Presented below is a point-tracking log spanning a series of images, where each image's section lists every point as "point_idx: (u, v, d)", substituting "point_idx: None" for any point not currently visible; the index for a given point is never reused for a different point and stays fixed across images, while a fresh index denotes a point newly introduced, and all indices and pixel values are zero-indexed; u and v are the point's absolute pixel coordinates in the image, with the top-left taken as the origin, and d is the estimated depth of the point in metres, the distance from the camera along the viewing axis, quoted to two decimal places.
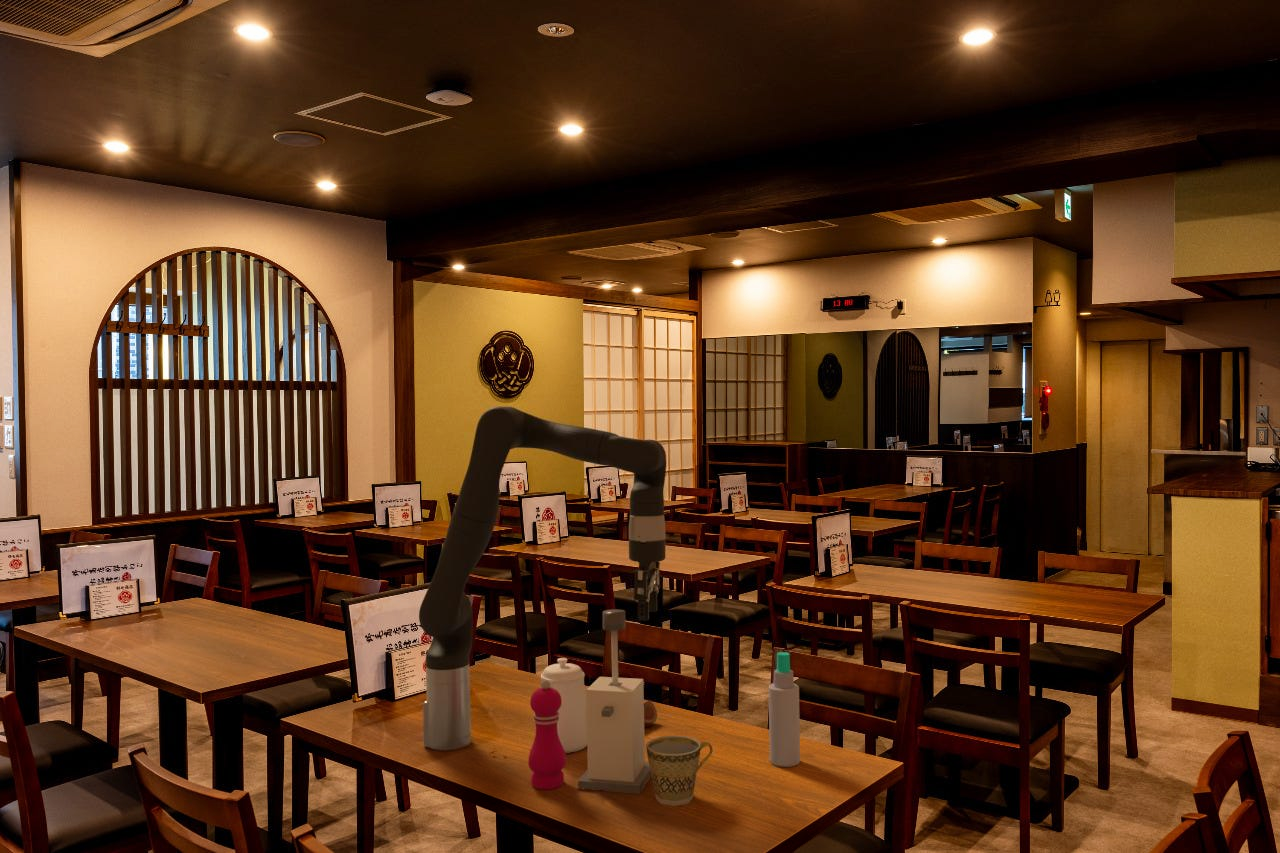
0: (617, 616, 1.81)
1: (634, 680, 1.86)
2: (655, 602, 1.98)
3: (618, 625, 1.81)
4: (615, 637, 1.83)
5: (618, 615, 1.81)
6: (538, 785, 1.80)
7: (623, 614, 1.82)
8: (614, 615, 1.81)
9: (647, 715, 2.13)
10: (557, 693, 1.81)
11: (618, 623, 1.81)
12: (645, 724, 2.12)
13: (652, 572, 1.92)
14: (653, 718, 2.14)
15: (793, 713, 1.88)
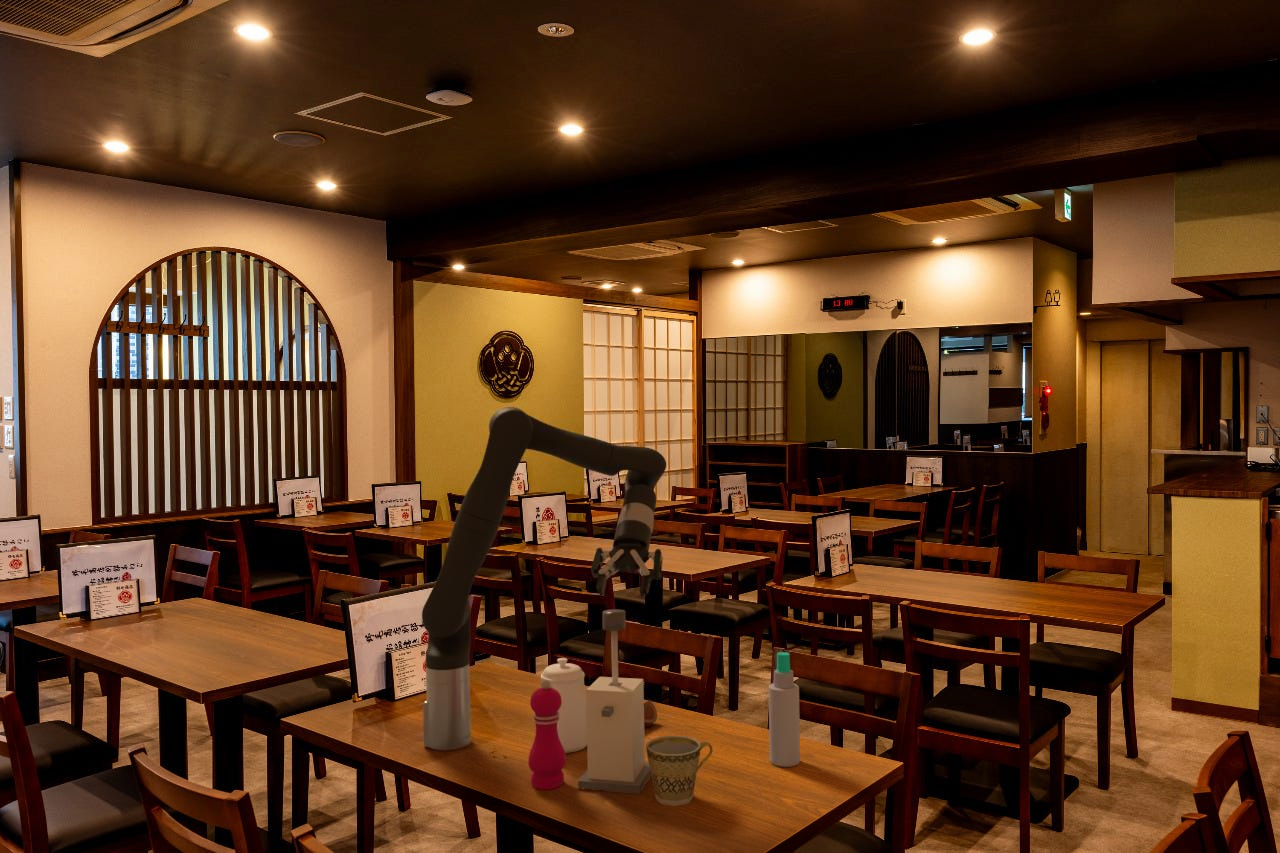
0: (617, 616, 1.81)
1: (634, 680, 1.86)
2: (605, 587, 1.92)
3: (618, 625, 1.81)
4: (615, 637, 1.83)
5: (618, 615, 1.81)
6: (538, 785, 1.80)
7: (623, 614, 1.82)
8: (614, 615, 1.81)
9: (647, 715, 2.13)
10: (557, 693, 1.81)
11: (618, 623, 1.81)
12: (645, 724, 2.12)
13: None
14: (653, 718, 2.14)
15: (793, 713, 1.88)
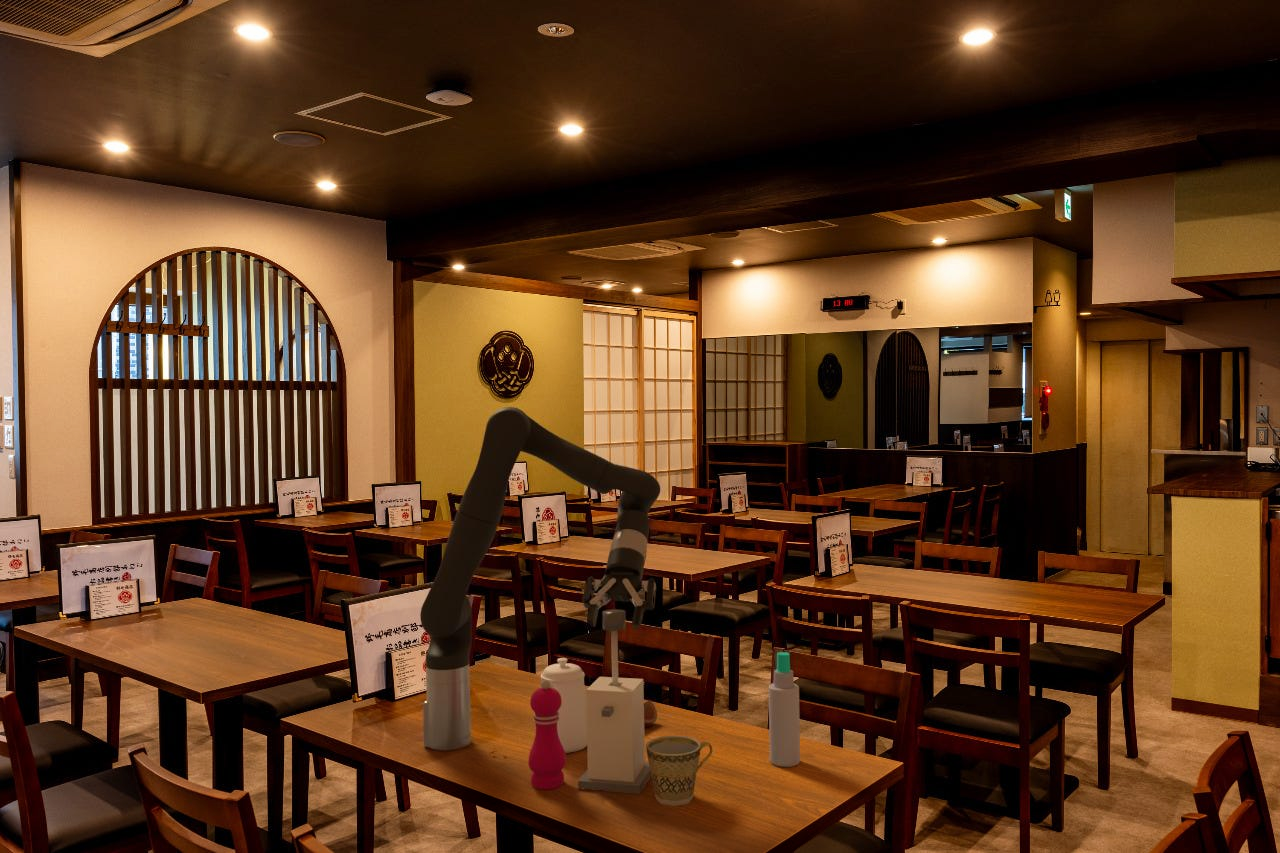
0: (617, 616, 1.81)
1: (634, 680, 1.86)
2: (596, 618, 1.85)
3: (618, 625, 1.81)
4: (615, 637, 1.83)
5: (618, 615, 1.81)
6: (538, 785, 1.80)
7: (623, 614, 1.82)
8: (614, 615, 1.81)
9: (647, 715, 2.13)
10: (557, 693, 1.81)
11: (618, 623, 1.81)
12: (645, 724, 2.12)
13: None
14: (653, 718, 2.14)
15: (793, 713, 1.88)
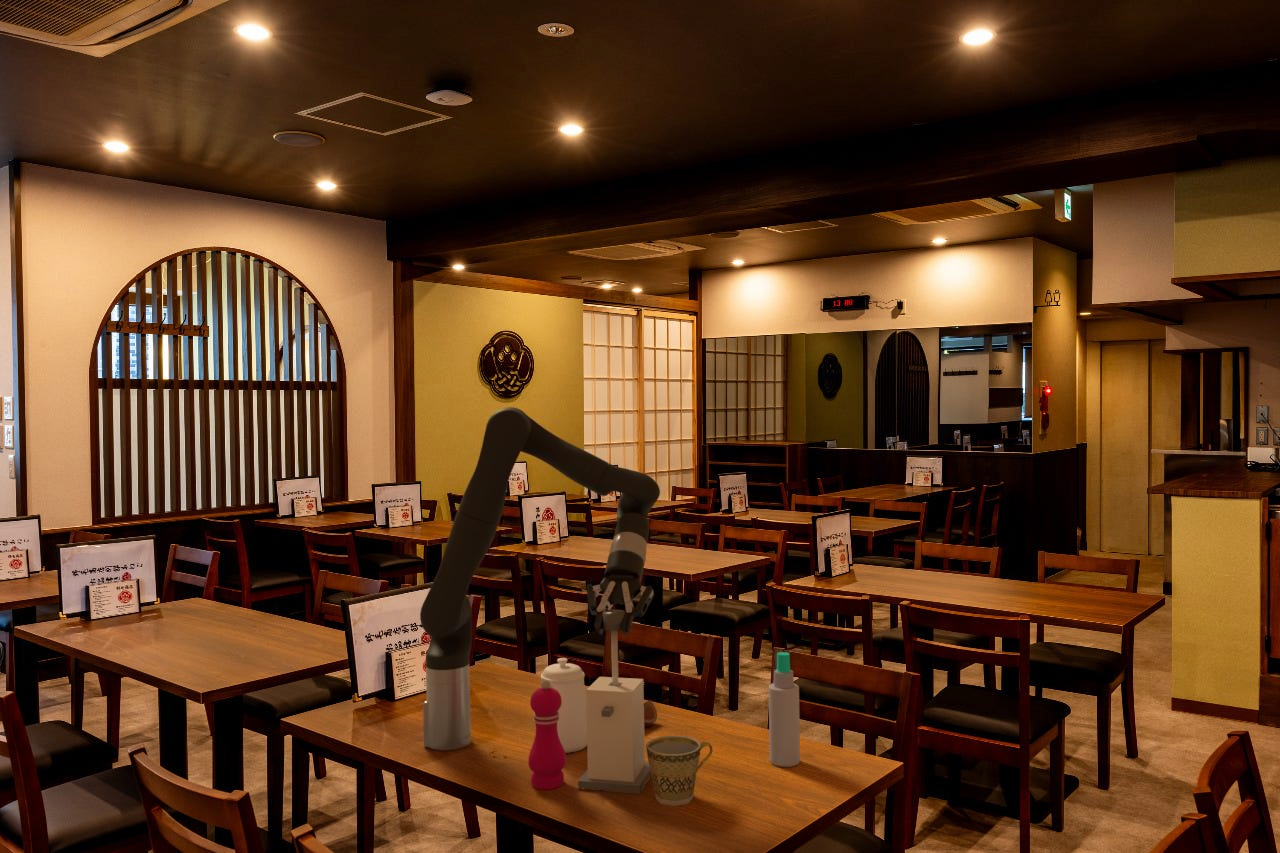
0: (617, 616, 1.81)
1: (634, 680, 1.86)
2: None
3: (618, 625, 1.81)
4: (615, 637, 1.83)
5: (618, 615, 1.81)
6: (538, 785, 1.80)
7: (623, 614, 1.82)
8: (614, 615, 1.81)
9: (647, 715, 2.13)
10: (557, 693, 1.81)
11: (618, 623, 1.81)
12: (645, 724, 2.12)
13: None
14: (653, 718, 2.14)
15: (793, 713, 1.88)
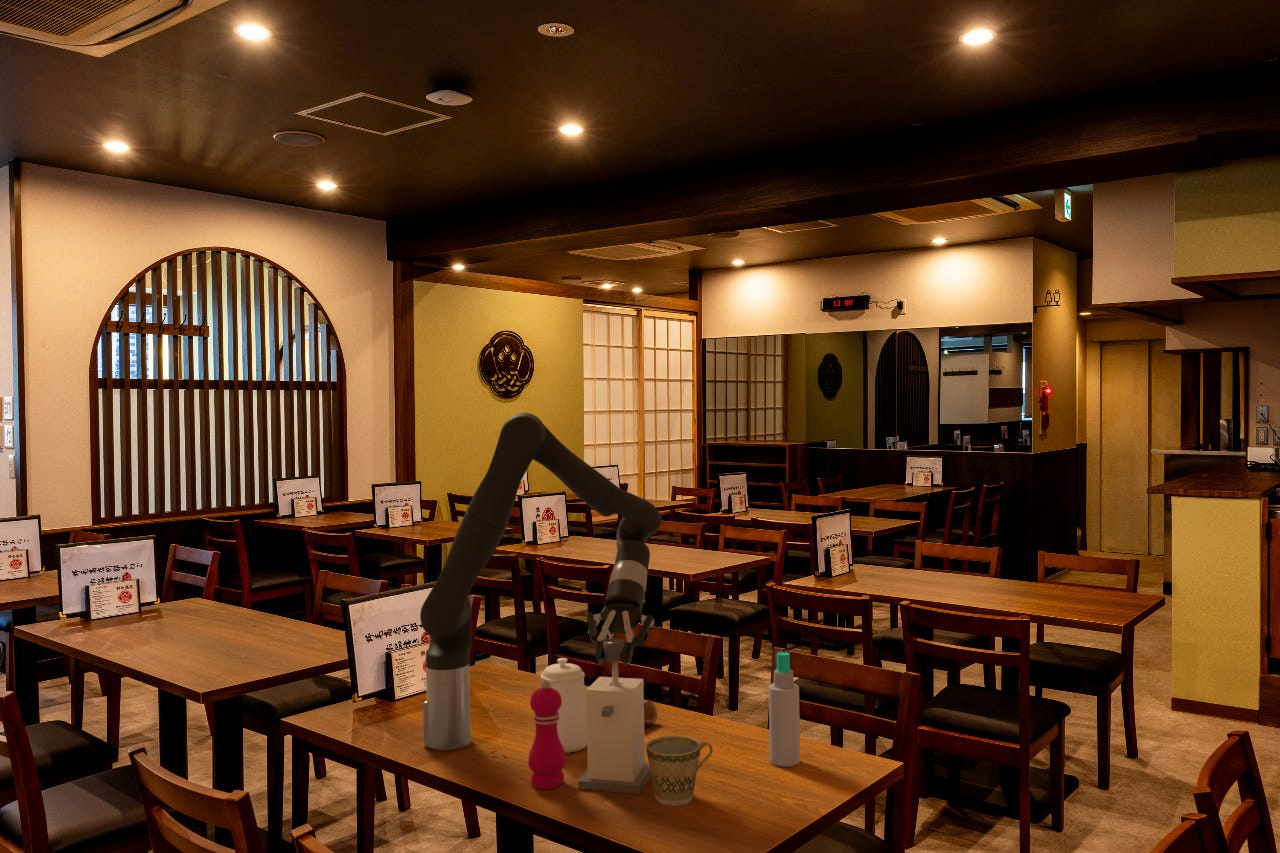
0: (618, 646, 1.81)
1: (634, 680, 1.86)
2: None
3: (618, 655, 1.81)
4: (616, 667, 1.83)
5: (619, 645, 1.81)
6: (538, 785, 1.80)
7: (624, 644, 1.82)
8: (615, 645, 1.81)
9: (647, 715, 2.13)
10: (557, 693, 1.81)
11: (619, 653, 1.81)
12: (645, 724, 2.12)
13: None
14: (653, 718, 2.14)
15: (793, 713, 1.88)
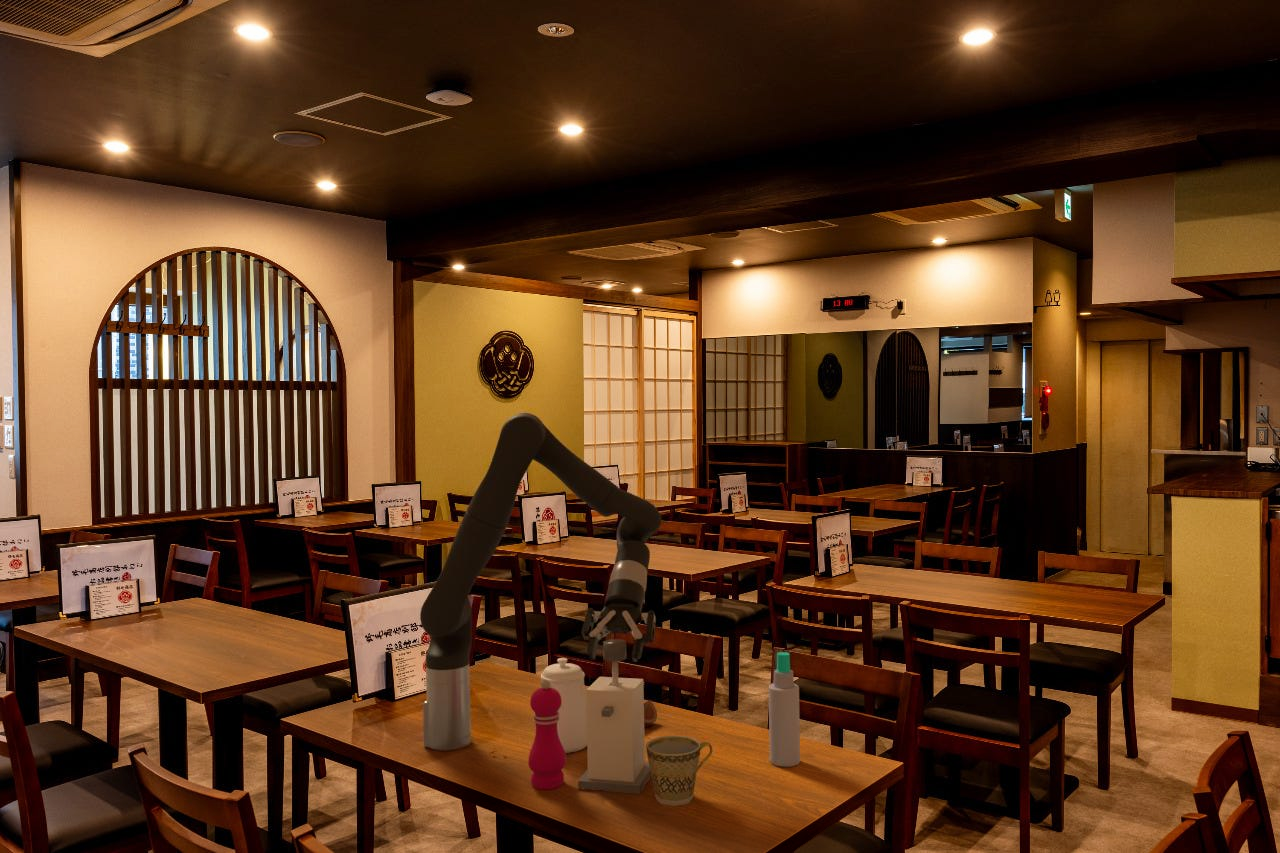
0: (618, 646, 1.81)
1: (634, 680, 1.86)
2: (596, 650, 1.85)
3: (618, 655, 1.81)
4: (616, 667, 1.83)
5: (619, 645, 1.81)
6: (538, 785, 1.80)
7: (624, 644, 1.82)
8: (615, 645, 1.81)
9: (647, 715, 2.13)
10: (557, 693, 1.81)
11: (619, 653, 1.81)
12: (645, 724, 2.12)
13: None
14: (653, 718, 2.14)
15: (793, 713, 1.88)
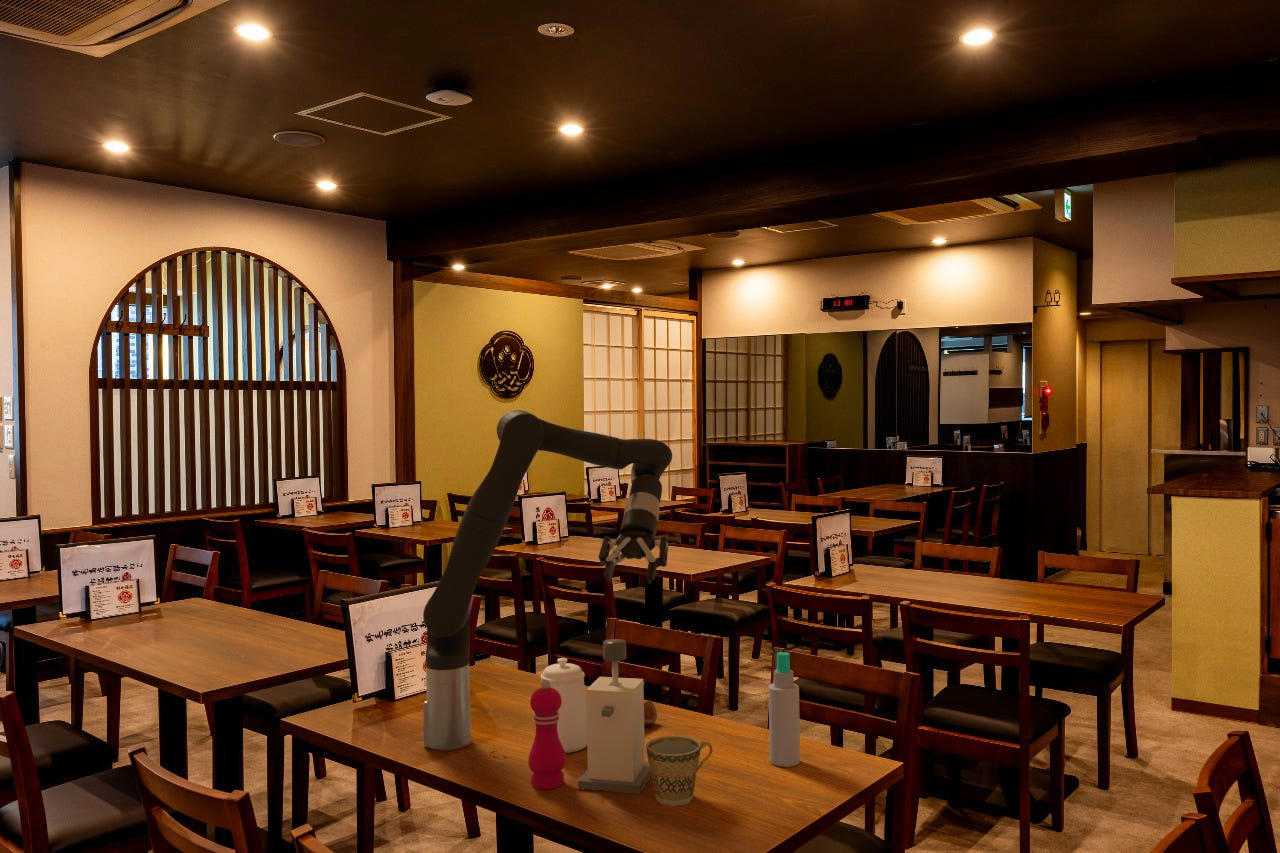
0: (618, 646, 1.81)
1: (634, 680, 1.86)
2: (612, 574, 1.97)
3: (618, 655, 1.81)
4: (616, 667, 1.83)
5: (619, 645, 1.81)
6: (538, 785, 1.80)
7: (624, 644, 1.82)
8: (615, 645, 1.81)
9: (647, 715, 2.13)
10: (557, 693, 1.81)
11: (619, 653, 1.81)
12: (645, 724, 2.12)
13: None
14: (653, 718, 2.14)
15: (793, 713, 1.88)
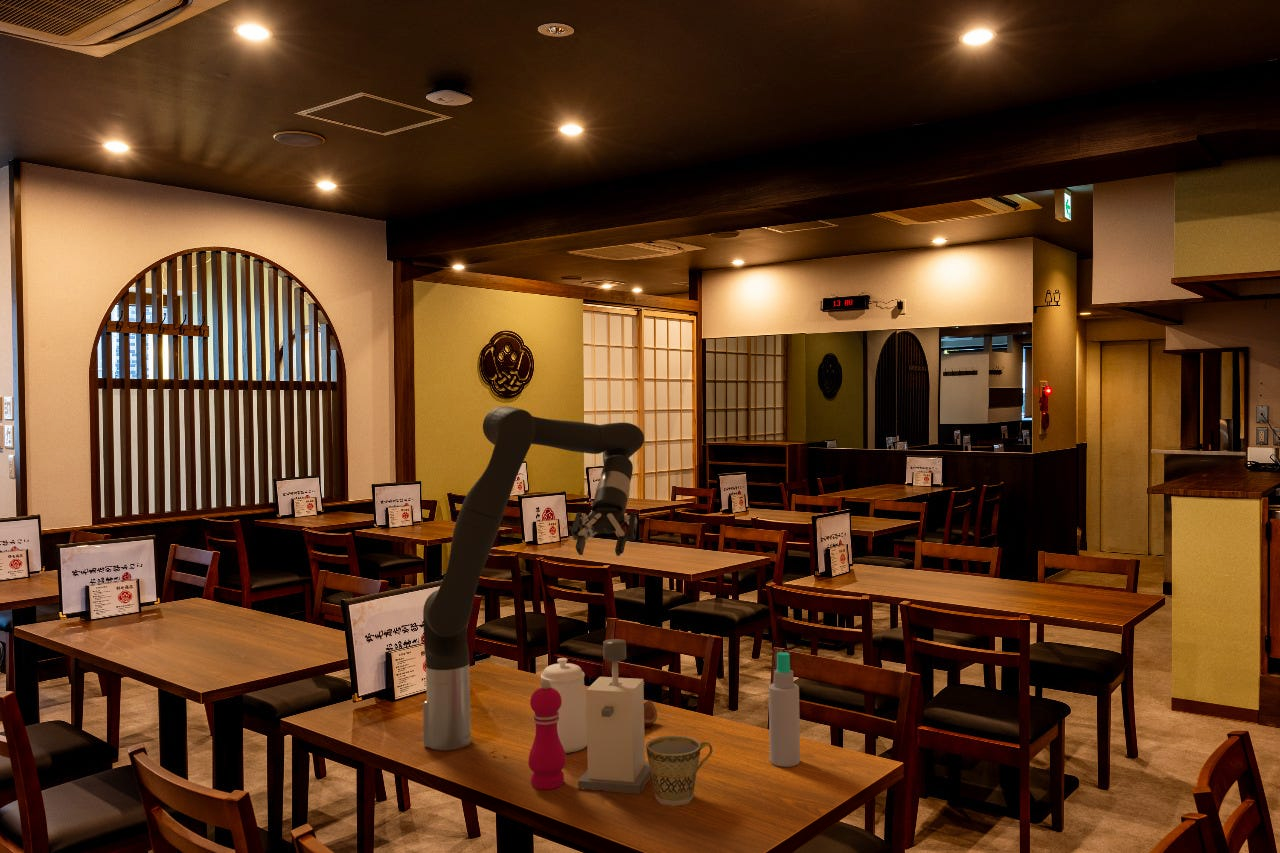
0: (618, 646, 1.81)
1: (634, 680, 1.86)
2: (583, 547, 2.08)
3: (618, 655, 1.81)
4: (616, 667, 1.83)
5: (619, 645, 1.81)
6: (538, 785, 1.80)
7: (624, 644, 1.82)
8: (615, 645, 1.81)
9: (647, 715, 2.13)
10: (557, 693, 1.81)
11: (619, 653, 1.81)
12: (645, 724, 2.12)
13: None
14: (653, 718, 2.14)
15: (793, 713, 1.88)
